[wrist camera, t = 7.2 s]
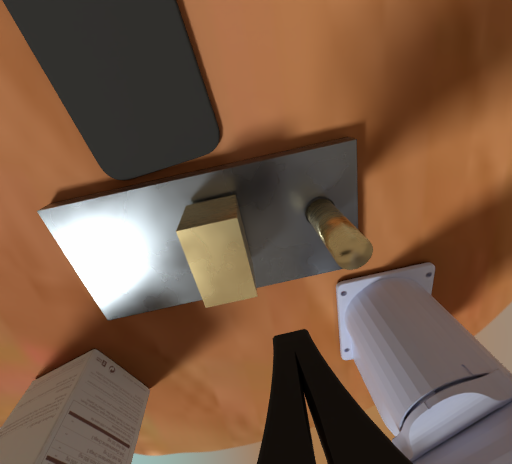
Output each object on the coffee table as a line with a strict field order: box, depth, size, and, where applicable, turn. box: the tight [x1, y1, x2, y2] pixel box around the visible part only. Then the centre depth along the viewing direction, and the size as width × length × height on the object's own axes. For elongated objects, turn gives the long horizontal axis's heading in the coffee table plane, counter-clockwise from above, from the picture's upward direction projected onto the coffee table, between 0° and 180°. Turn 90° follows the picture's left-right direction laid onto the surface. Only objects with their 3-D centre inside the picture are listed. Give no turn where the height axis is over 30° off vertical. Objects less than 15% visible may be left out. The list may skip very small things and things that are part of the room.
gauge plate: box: [37, 137, 373, 320], centre depth 15 cm, size 9×19×6 cm, turn 101°
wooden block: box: [176, 194, 257, 308], centre depth 15 cm, size 5×3×3 cm, turn 11°
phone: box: [3, 0, 220, 180], centre depth 12 cm, size 7×1×15 cm
